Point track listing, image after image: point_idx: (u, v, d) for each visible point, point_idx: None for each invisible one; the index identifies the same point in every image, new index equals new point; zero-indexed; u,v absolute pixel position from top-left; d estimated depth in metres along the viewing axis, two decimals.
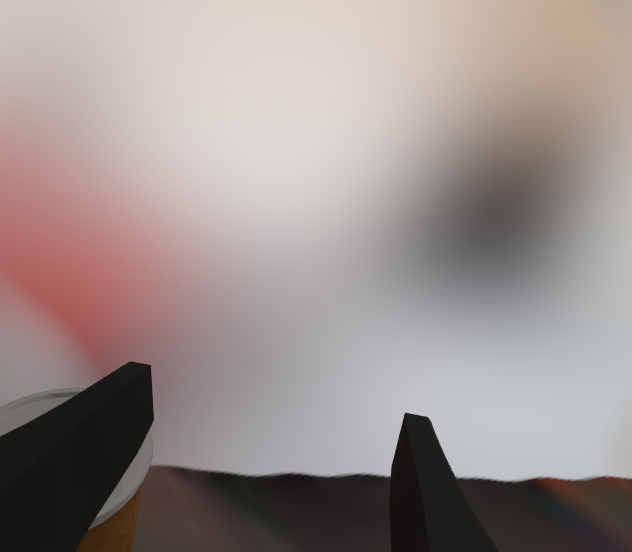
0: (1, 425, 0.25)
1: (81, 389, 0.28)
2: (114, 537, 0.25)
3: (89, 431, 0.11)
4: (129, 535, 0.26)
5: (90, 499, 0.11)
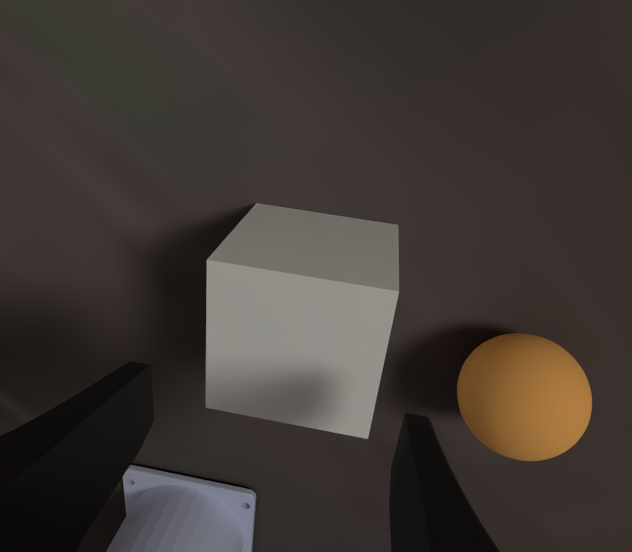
0: None
1: None
2: None
3: (89, 430, 0.11)
4: None
5: (90, 499, 0.11)
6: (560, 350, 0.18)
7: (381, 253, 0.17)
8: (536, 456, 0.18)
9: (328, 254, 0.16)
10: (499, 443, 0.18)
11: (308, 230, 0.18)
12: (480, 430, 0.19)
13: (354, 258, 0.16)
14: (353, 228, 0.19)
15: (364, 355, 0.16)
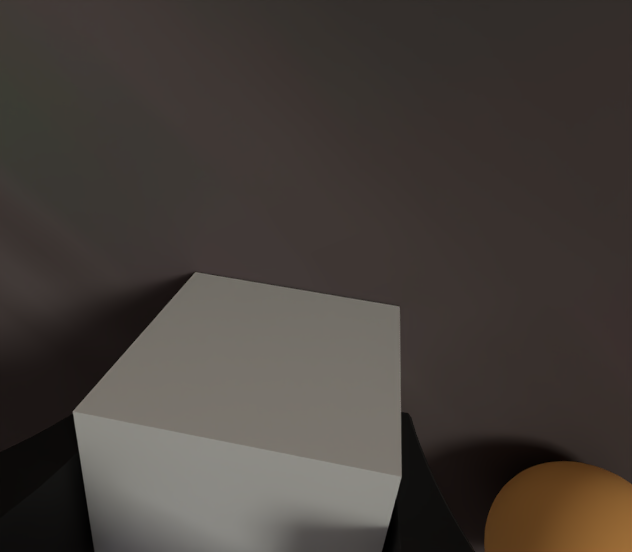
0: None
1: None
2: None
3: None
4: None
5: None
6: None
7: (373, 373, 0.11)
8: None
9: (287, 382, 0.10)
10: None
11: (263, 326, 0.12)
12: None
13: (329, 389, 0.10)
14: (333, 318, 0.13)
15: None
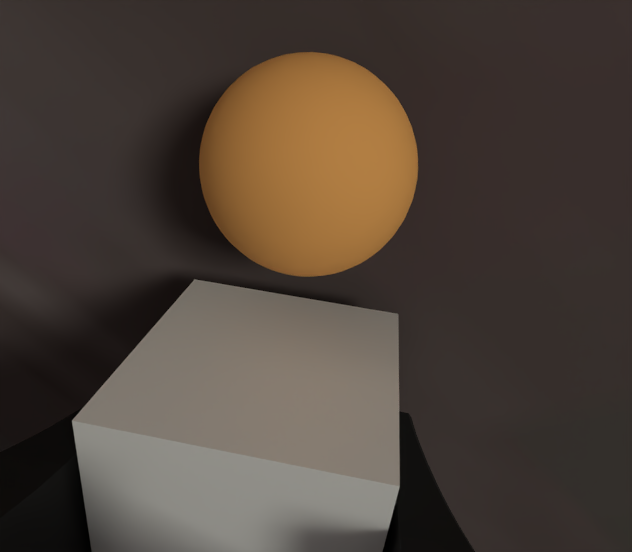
0: None
1: None
2: None
3: None
4: None
5: None
6: None
7: (372, 382, 0.11)
8: None
9: (286, 390, 0.10)
10: None
11: (262, 334, 0.12)
12: None
13: (327, 398, 0.10)
14: (331, 325, 0.13)
15: None
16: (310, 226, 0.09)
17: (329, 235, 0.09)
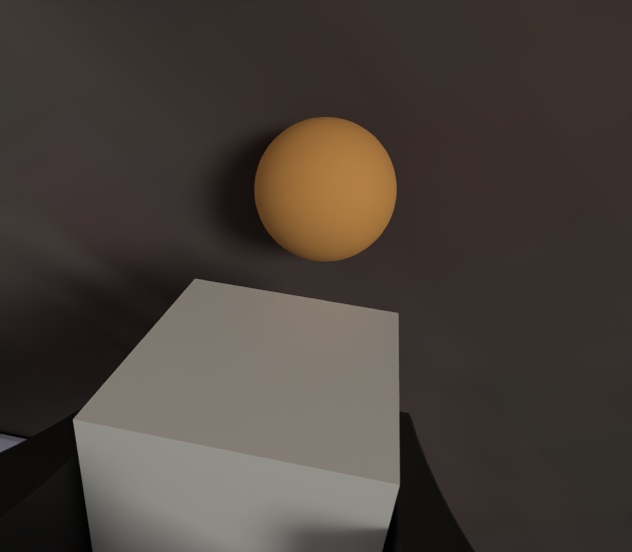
0: None
1: None
2: None
3: None
4: None
5: None
6: None
7: (372, 381, 0.11)
8: None
9: (286, 389, 0.10)
10: None
11: (262, 333, 0.12)
12: None
13: (328, 397, 0.10)
14: (331, 324, 0.13)
15: None
16: (329, 228, 0.15)
17: (339, 234, 0.15)
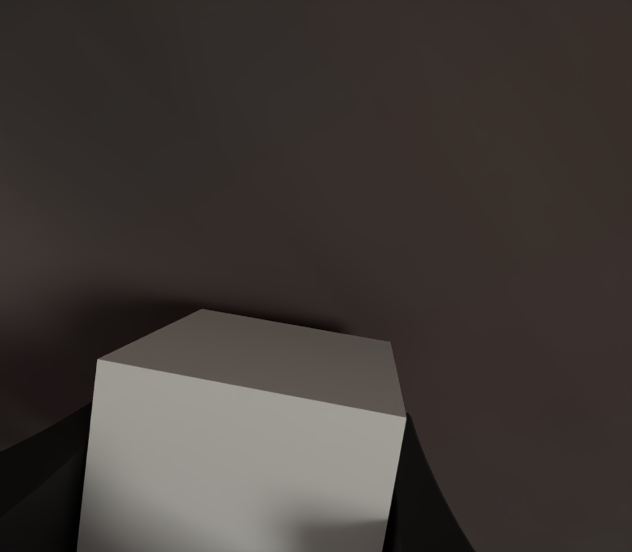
0: None
1: None
2: None
3: None
4: None
5: None
6: None
7: (372, 369, 0.12)
8: None
9: (294, 365, 0.11)
10: None
11: (267, 338, 0.13)
12: None
13: (332, 372, 0.11)
14: (330, 341, 0.14)
15: (348, 536, 0.09)
16: None
17: None
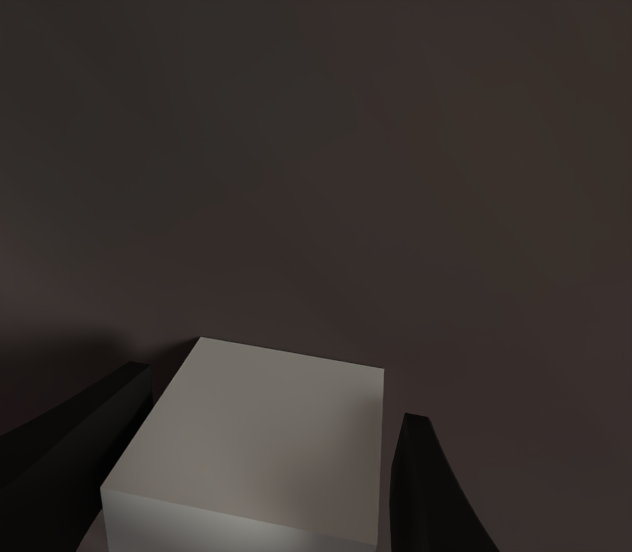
0: None
1: None
2: None
3: (90, 430, 0.11)
4: None
5: (90, 499, 0.11)
6: None
7: (357, 442, 0.12)
8: None
9: (282, 453, 0.12)
10: None
11: (261, 394, 0.14)
12: None
13: (318, 459, 0.12)
14: (323, 383, 0.14)
15: None
16: None
17: None
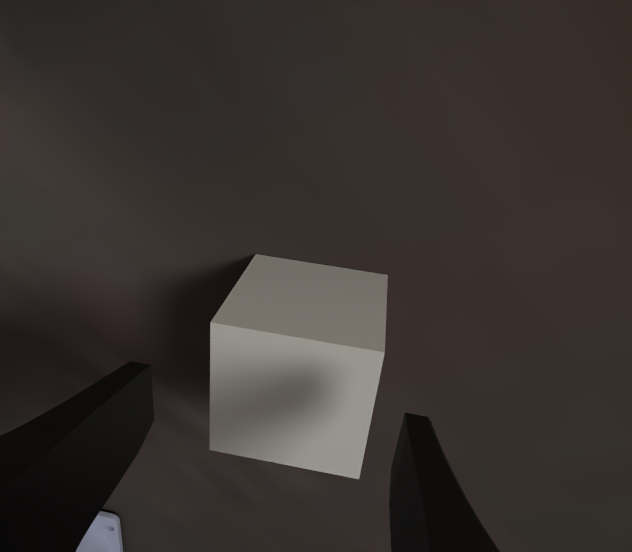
0: None
1: None
2: None
3: (89, 430, 0.11)
4: None
5: (90, 499, 0.11)
6: None
7: (370, 309, 0.18)
8: None
9: (321, 312, 0.18)
10: None
11: (303, 284, 0.20)
12: None
13: (345, 316, 0.18)
14: (345, 280, 0.20)
15: (354, 406, 0.17)
16: None
17: None
